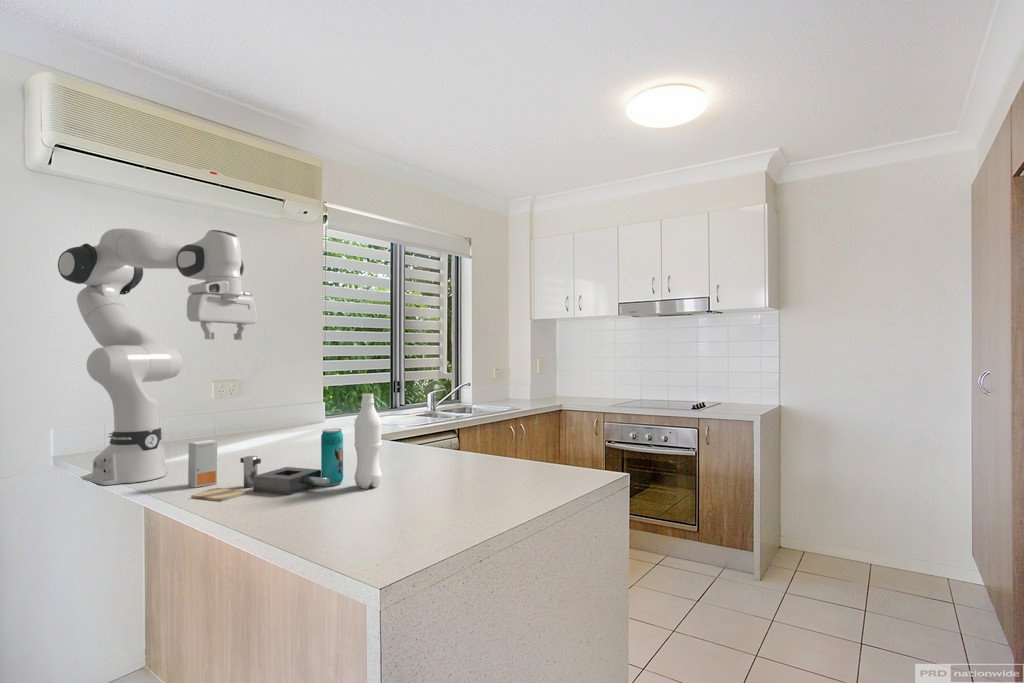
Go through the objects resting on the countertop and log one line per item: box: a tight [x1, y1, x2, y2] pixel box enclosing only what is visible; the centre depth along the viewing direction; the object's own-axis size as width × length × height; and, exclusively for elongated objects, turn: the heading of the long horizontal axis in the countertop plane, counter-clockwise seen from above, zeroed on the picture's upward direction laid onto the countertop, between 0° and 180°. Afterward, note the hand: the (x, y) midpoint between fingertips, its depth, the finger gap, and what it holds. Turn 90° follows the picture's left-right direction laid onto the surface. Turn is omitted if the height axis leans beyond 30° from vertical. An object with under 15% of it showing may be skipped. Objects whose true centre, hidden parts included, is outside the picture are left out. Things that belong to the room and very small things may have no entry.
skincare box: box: [187, 439, 218, 489], centre depth 153 cm, size 6×4×12 cm
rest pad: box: [190, 487, 248, 502], centre depth 142 cm, size 10×8×1 cm
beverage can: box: [320, 427, 344, 487], centre depth 152 cm, size 6×6×15 cm
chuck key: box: [239, 455, 262, 489], centre depth 151 cm, size 6×3×8 cm, turn 69°
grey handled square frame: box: [252, 466, 330, 496], centre depth 148 cm, size 19×12×4 cm, turn 69°
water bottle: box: [353, 393, 383, 490], centre depth 150 cm, size 7×7×25 cm
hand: (224, 339), depth 152 cm, fingers open, 8 cm apart
